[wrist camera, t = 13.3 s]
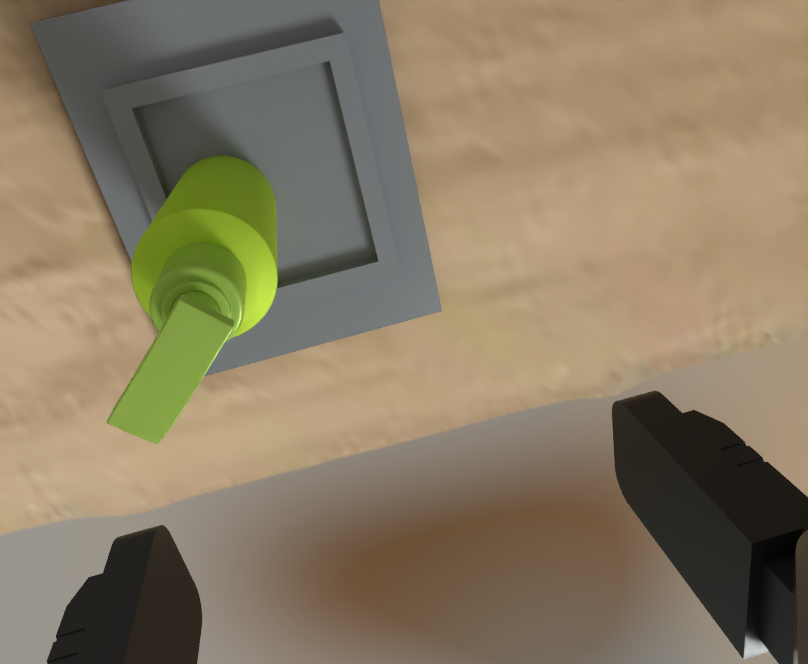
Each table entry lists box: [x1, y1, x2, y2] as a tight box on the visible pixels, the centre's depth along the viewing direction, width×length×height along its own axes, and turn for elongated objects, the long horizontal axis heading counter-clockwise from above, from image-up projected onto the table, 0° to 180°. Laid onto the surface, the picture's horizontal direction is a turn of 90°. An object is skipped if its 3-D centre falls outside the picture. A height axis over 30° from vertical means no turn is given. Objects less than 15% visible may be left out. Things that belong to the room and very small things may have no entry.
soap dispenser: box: [107, 156, 278, 444], centre depth 30 cm, size 6×7×20 cm
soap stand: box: [30, 0, 442, 376], centre depth 39 cm, size 22×18×2 cm
